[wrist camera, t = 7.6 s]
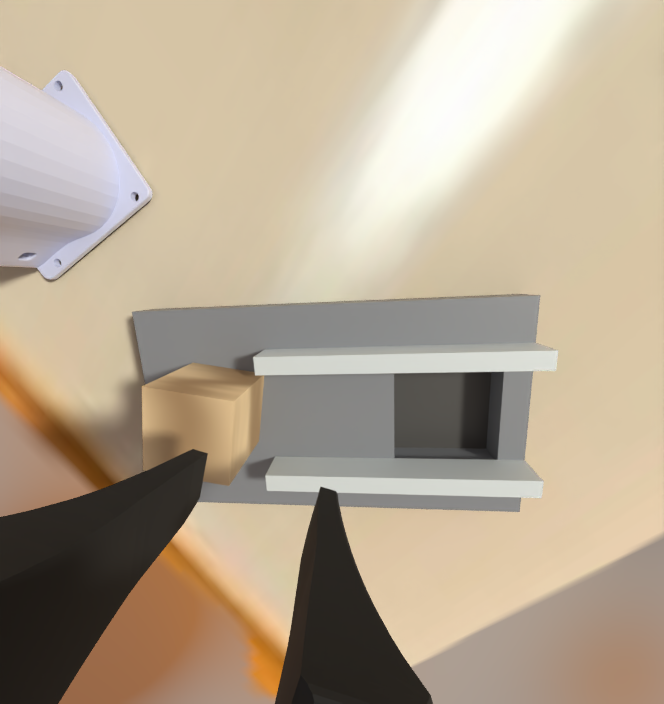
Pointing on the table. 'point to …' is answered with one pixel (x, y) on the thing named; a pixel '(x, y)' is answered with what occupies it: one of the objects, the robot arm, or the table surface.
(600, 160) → the table surface
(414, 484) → the rail jig base
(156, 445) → the block
